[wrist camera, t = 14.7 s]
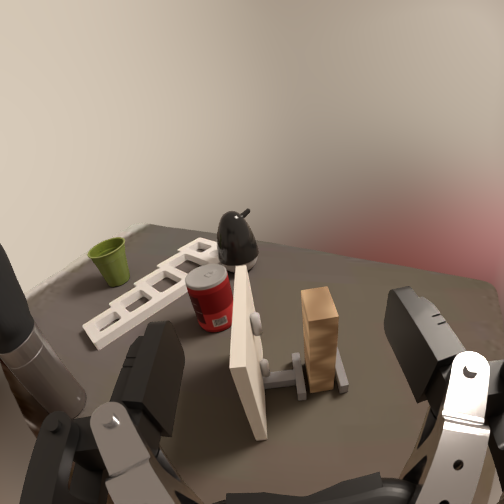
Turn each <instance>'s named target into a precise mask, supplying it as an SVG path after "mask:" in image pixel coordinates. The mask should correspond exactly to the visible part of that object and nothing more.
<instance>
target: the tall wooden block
mask: <svg viewBox="0 0 504 504" xmlns="http://www.w3.org/2000/svg"><path fill="white" fill-rule="evenodd" d="M301 298H302V314H303V331H304V351H305V366H306V372H307V378H308V383H309V389H310V393H314V392H320V391H326V390H332V389H333V386H334V376H335V365H336V353H337V338H338V320H339V316H338V313H337V311H336V308H335V305H334V302H333V300H332V297H331V295H330V292H329V289H328V287H320V288H314V289H307V290H301Z"/></svg>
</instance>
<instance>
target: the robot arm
mask: <svg viewBox="0 0 504 504" xmlns="http://www.w3.org/2000/svg"><path fill="white" fill-rule="evenodd" d="M384 330H385V334H386V337H387V339H388V341H389V343H390V345H391V347H392V349H393V351H394V353H395V355H396V358H397V360H398V362H399V364H400V366H401V368H402V370H403V373H404V375H405V377H406V379H407V381H408V384H409V386H410V388H411V390H412V393H413V395H414V397H415V400H416V402H417V403H419V402H422V401H425V400H428V402H429V405H430V406H429V407H428V410H427V413H426V416H425V419H424V422H423V425H422V428H421V431H420V434H419V437H418V439H417V442H416V445H415V447H414V450H413V452H412V454H411V456H410V458H409V459H408V461H407V463H406V465H405V466H404V468H403V470H402V472H401V474H400V476H399V479H396V478H381V476H380V472H377V473H373V474H370V475H366V476H363V477H359V478H355V479H351V480H346V481H343V482H340V483H338V484H336V485H334V486H331V487H329V488H327V489H324V490H322V491H319V492H317V493H314V494H312V495H309V496H304V497H299V496H289V495H280V494H272V493H265V492H261V493H226V500H222V501H219V502H216V503H213V504H471V502H472V499H473V496H474V493H475V490H476V487H477V484H478V481H479V477H480V474H481V470H482V466H483V462H484V458H485V454H486V450H487V445H489V448H490V451H491V454H492V457H493V460H494V464H495V467H496V470H497V474H498V477H499V481H500V484H501V488H502V492H503V493H502V495H501V497H500V500H499V502H498V503H497V504H504V360H496V361H486V360H485V359H484V358H483V357H482V356H481V355H479V354H477V353H475V352H467V351H466V350H465V348H464V347H463V345H462V344H461V342H460V341H459V339H458V338H457V336H456V335H455V333H454V332H453V330H452V329H451V327H450V326H449V325H448V323H446V320H445V319H444V318H443V316H442V315H440V312H439V311H438V309H437V308H436V307H435V305H434V304H433V303H431V302H430V301H428V300H427V299H425V298H424V297H418V296H417V295H416V293H415V292H414V291H413V289H412V288H411V287H410V286H406V287H402V288H397V289H392V290H390V291H389V294H388V300H387V307H386V313H385V318H384ZM0 357H1V359H2V360H3V361H4V363H5V364H6V365H7V366H8V368H9V369H10V370H11V371H12V373H13V374H14V375H15V376H16V378H17V379H18V380H19V381H20V382H21V383H22V385H23V386H24V387H25V388H26V389H27V390H28V391H29V393H30V394H31V395H32V396H33V397H34V398H35V399H36V400H37V401H38V402H39V403H40V404H41V405H42V406H43V407H44V408H45V409H46V410H47V411H48V412H49V413H50V414H49V415H48V416H47V417H46V418H45V419H44V421H43V423H42V426H41V428H40V431H39V434H38V437H37V440H36V443H35V446H34V449H33V453H32V456H31V460H30V463H29V466H28V470H27V474H26V477H25V482H24V485H23V490H22V494H21V499H20V504H106V502H107V495H108V492H109V494H110V496H111V498H112V500H113V502H114V504H204V503H203V502H202V501H201V499H200V498H199V497H198V496H197V495H196V494H195V493H194V492H193V491H192V490H191V489H190V488H189V487H188V485H187V484H186V483H185V482H184V480H183V479H182V478H181V476H180V475H179V473H178V472H177V470H176V469H175V467H174V466H173V464H172V463H171V461H170V460H169V458H168V457H167V455H166V454H165V452H164V451H163V449H162V447H161V446H160V445H159V443H160V437H161V436H166V437H172V431H173V425H174V419H175V413H176V407H177V402H178V396H179V391H180V385H181V380H182V375H183V370H184V365H185V356H184V351H183V348H182V346H181V344H180V341H179V339H178V337H177V334H176V332H175V330H174V328H173V325H172V323H171V322H170V321H158V322H150V323H149V324H148V326H147V328H146V331H145V334H144V336H139V337H138V338H137V339H136V340H135V341H134V342H133V344H132V345H131V346H130V348H129V351H128V353H127V356H126V359H125V361H124V363H123V368H122V369H121V371H120V374H119V377H118V380H117V382H116V385H115V388H114V391H113V393H112V396H111V399H110V401H109V402H107V403H104V404H102V405H100V406H99V407H97V408H96V409H95V411H94V412H93V414H92V416H89V417H84V418H78V419H73V418H74V417H76V416H77V415H78V414H79V413H80V412H81V411H82V409H83V407H84V405H85V402H86V393H85V391H84V389H83V388H82V387H81V386H80V384H79V383H78V382H77V381H76V379H75V378H74V377H73V375H72V374H71V373H70V372H69V370H68V369H67V368H66V366H65V365H64V364H63V362H62V361H61V360H60V358H59V357H58V355H57V354H56V353H55V351H54V350H53V348H52V347H51V345H50V344H49V342H48V341H47V339H46V338H45V336H44V335H43V334H42V332H41V330H40V329H39V327H38V326H37V324H36V322H35V321H34V319H33V317H32V316H31V314H30V311H29V307H28V304H27V300H26V298H25V295H24V293H23V291H22V289H21V287H20V285H19V282H18V280H17V278H16V276H15V273H14V271H13V268H12V266H11V263H10V261H9V259H8V257H7V254H6V253H5V250H4V249H3V247H2V245H1V244H0ZM73 461H74V462H75V467H74V471H73V476H72V481H71V486H70V491H69V490H68V479H69V475H70V470H71V466H72V462H73Z"/></svg>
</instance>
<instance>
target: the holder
mask: <svg viewBox="0 0 504 504" xmlns="http://www.w3.org/2000/svg"><path fill="white" fill-rule="evenodd" d="M198 249H204V250H205V251H204V252H202V253H199V252H197V251H196V250H198ZM217 256H218V254H217V242H214V241H210V240H207V239H203V238H198V239H196V240H194V241H192V242H190V243H189V244H187V245H185V246H183V247H181V248H179V249H178V254H176V255H174V256H172V257H171V258H169V259H167V260H165V261H164V262H162V263H160V264H158V265H157V267H158V269H157V270H155V271H154V272H152V273H150V274H149V275H147V276H145V277H144V278H142V279H140V280H139V281H137V282H135V283H134V285H135V288H133V289H132V290H130V291H128V292H127V293H125V294H123V295H122V296H120V297H118V298H117V299H115V300H114V301H112V302H110V303H109V305H110V307H111V308H109V309H108V310H106V311H104V312H103V313H101V314H100V315H98V316H96V317H95V318H93V319H92V320H90V321H89V322H87V323H85V324H84V325H83V328H84V330H85V331H86V333H87V335H88V336H89V338H90V339H91V341H92V342H93V344H94V345H95V347H96V348H97V350H100V349H102V348H103V347H105V346H106V345H108V344H109V343H111V342H112V341H114V340H115V339H117V338H118V337H120V336H121V335H123V334H124V333H126V332H127V331H129V330H130V329H132V328H133V327H135V326H136V325H138V324H139V323H141V322H142V321H144V320H145V319H147V318H148V317H150V316H151V315H153V314H154V313H156V312H158V311H159V310H161V309H162V308H164V307H165V306H167V305H168V304H170V303H171V302H173V301H174V300H176V299H177V298H179V297H180V296H182V295H183V294H185V293H186V292H188V290H187V287H186V283H185V278H186V276H187V275H188V274H187V273H185V272H183V271H181V270H178V269H176V268H174V267H176V266H178V265H179V264H181V263H183V262H184V261H186V260H189V261H192V262H194V263H197V264H199V265H202V266H203V265H207V264H219V265H222V264H221V263H220V261H219V259H218V257H217ZM222 266H223V265H222ZM166 277H168V278H170V279H172V280H174V281H176V282H178V283H177V284H175V285H174V286H172V287H170V288H169V289H167V290H166V291H164V292H158V291H157V290H155V289H154V288H152V287H151V286H152V285H154V284H155V283H157V282H159V281H160V280H162V279H164V278H166ZM141 297H146V298H147V299H149V300H150V301H148V302H147V303H145V304H144V305H142V306H140V307H139V308H137V309H136V310H134V311H133V312H129V311H128V310H126V309H125V307H127V306H128V305H130V304H132V303H133V302H135V301H136V300H138V299H140V298H141ZM115 319H120V320H119V321H117V322H116V323H114V324H112V325H111V326H109V327H108V328H106V329H105V330H103V331H99V330H100V329H101V328H103V327H105V326H106V325H108V324H109V323H111V322H112V321H114V320H115Z"/></svg>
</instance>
